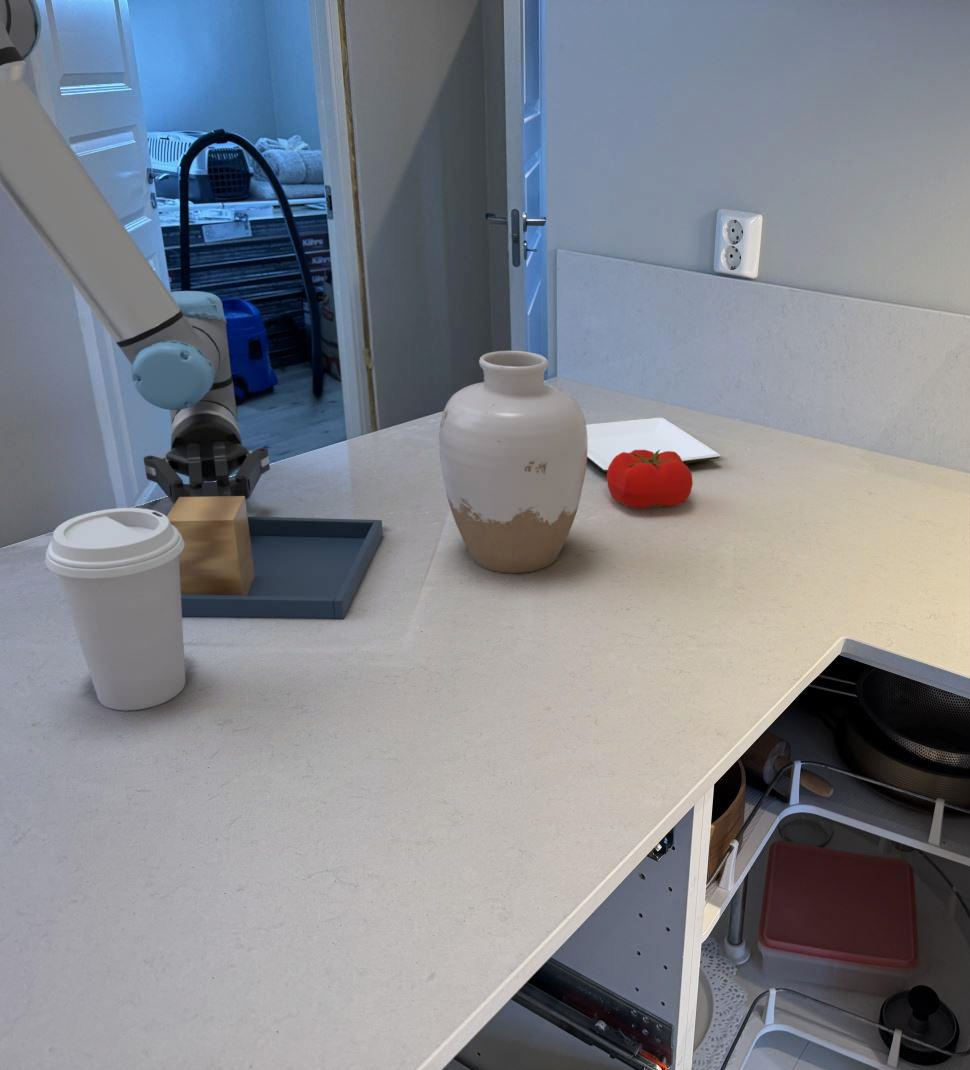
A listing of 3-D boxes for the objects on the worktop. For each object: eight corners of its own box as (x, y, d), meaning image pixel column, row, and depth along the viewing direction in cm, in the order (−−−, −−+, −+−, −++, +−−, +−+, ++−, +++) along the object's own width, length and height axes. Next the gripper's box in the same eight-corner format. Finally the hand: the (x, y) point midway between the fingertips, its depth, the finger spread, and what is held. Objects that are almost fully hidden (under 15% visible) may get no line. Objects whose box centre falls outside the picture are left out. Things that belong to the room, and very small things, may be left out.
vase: (516, 516, 123) (515, 333, 114) (613, 554, 115) (620, 362, 106) (413, 555, 111) (402, 354, 102) (513, 601, 103) (511, 388, 94)
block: (177, 606, 96) (163, 521, 92) (191, 578, 101) (179, 496, 97) (244, 603, 97) (233, 519, 94) (255, 576, 102) (245, 495, 99)
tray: (83, 619, 93) (78, 596, 92) (165, 534, 111) (162, 513, 110) (343, 623, 96) (341, 600, 95) (383, 539, 114) (381, 519, 113)
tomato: (699, 514, 128) (703, 466, 125) (617, 519, 124) (619, 471, 122) (676, 486, 136) (679, 441, 134) (598, 491, 133) (600, 445, 130)
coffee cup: (215, 702, 83) (190, 539, 77) (81, 734, 78) (43, 562, 72) (195, 649, 90) (171, 496, 84) (71, 675, 85) (36, 515, 79)
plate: (603, 482, 136) (604, 468, 135) (553, 440, 150) (553, 427, 149) (720, 467, 145) (722, 454, 144) (662, 428, 159) (663, 416, 158)
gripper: (269, 466, 123) (286, 543, 104) (149, 476, 117) (144, 559, 98) (262, 408, 120) (279, 476, 101) (139, 415, 114) (132, 488, 95)
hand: (213, 517), depth 99 cm, fingers closed
